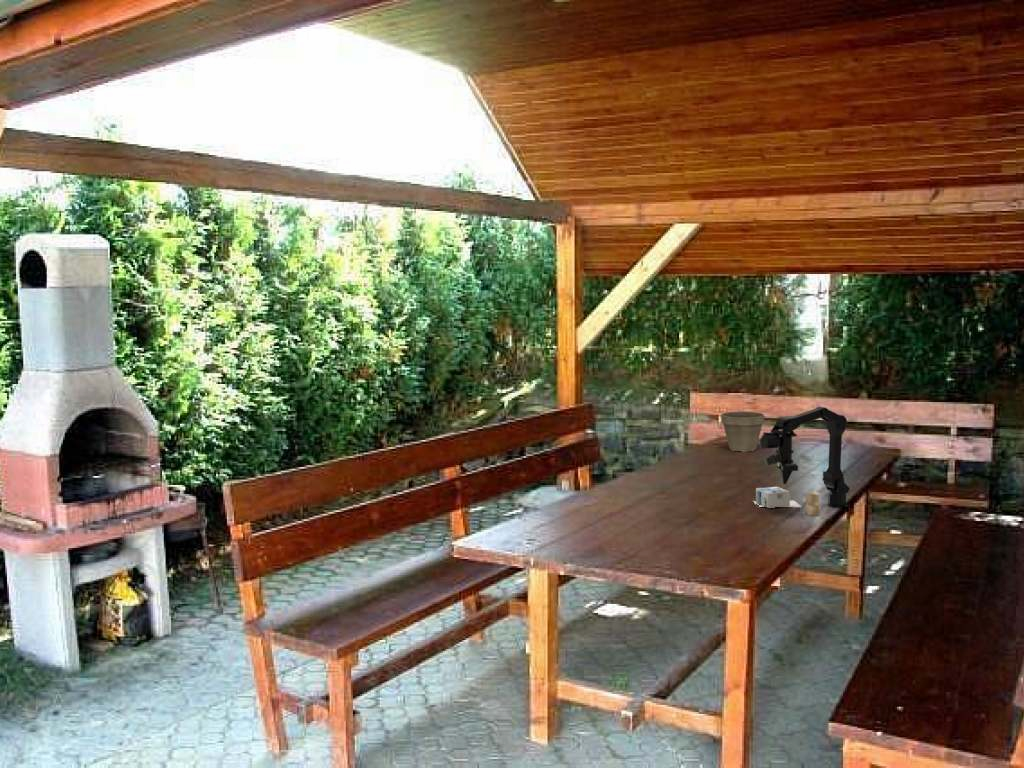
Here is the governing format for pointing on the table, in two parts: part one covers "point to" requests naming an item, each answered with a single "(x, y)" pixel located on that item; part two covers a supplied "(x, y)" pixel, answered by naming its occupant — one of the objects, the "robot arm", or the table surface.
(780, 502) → the light bulb box
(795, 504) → the white flat board
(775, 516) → the table surface
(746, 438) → the plant pot
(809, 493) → the oak block
